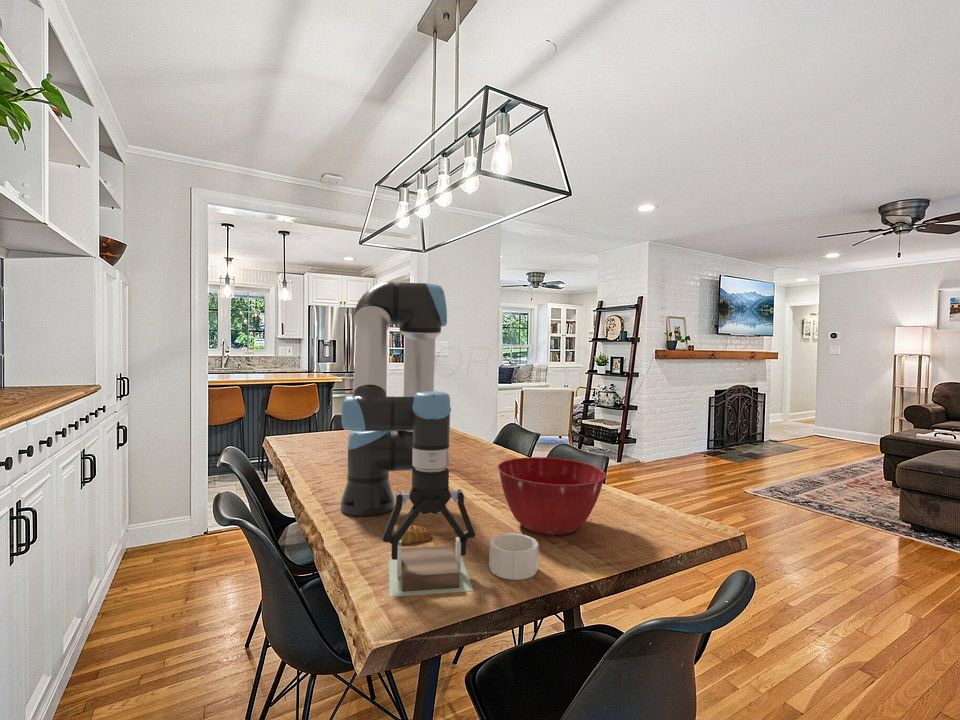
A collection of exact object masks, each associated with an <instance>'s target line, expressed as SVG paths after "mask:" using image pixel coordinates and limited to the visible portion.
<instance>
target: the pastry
mask: <svg viewBox="0 0 960 720" xmlns="http://www.w3.org/2000/svg"><path fill="white" fill-rule="evenodd" d="M399 526H400V524H395V526H394V529H393V531H392V533H393V534H394V533H395V531H396V530H397V529H398V527H399ZM393 534H392V535H393ZM431 539H432V531H431V529H430V528H428V527H425V526H424V527H423V526H420V525H417V524H413V523H412V524H411V525H410V527H409V528H408V529H407V531H406V532H405V534H404V535H403V536H402V538H401V539H400V540H401V545H404V544H406V545H408V544H414V543H415V544H416V543H422V542H427V541H429V540H431Z"/></svg>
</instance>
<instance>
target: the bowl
mask: <svg viewBox="0 0 960 720" xmlns="http://www.w3.org/2000/svg"><path fill="white" fill-rule="evenodd" d="M488 554H489V557H488V559H489V561H488V568H489V570H490V572H491V574H493V575H495V576H497V577H498V578H501V579H504V580H511V581H523V580H526V579H532V578H534V577H535V576H536V574H537V572H538V569H539V543H538V541H537V540H536V538H534V537H532V536H529V535H526V534H520V533H515V532H514V533H512V532H511V533H500V534H498V535H495V536H492V538H491V539H490V540H489V553H488ZM534 575H535V576H534ZM533 576H534V577H533ZM531 577H532V578H531Z"/></svg>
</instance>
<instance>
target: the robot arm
mask: <svg viewBox="0 0 960 720" xmlns="http://www.w3.org/2000/svg"><path fill="white" fill-rule="evenodd" d="M447 311H448V309H447V301H446V295H445V292H444V288H443V287H442V286H441V285H439V284H436V283H427V282H423V283H422V282H399V281H398V282H397V281H383V282H381V283H378V284H376V285H374V286H372V287H370V288H369V289H368V290H367V291H365V292H364V294H363V295H362V296H361V298H359V299H358V301H357V304H356V305H355V308H354V312H353V324H354V326H355V327H356V338H355V340H356V343H355V353H354V354H355V357H354V358H355V359H354V368H353V369H354V371H353V372H354V373H353V385H352V395H350V396H344V397H343V399H342V403H341V404H342V405H341V425H342V428H343V429H344V431H348V432H349V435H348V439H347V440H348V441H347V446H346V449H347V480H346V481H347V482H346V485H345V488H344V491H343V493H342V497H341V500H340V511H341V512H342V513H344V514H346V515H349V516H353V517H354V516H356V517H371V516H372V517H373V516H379V515H384V514H386V513H389V512H391V514H390V517H389V519H388V521H387V524H386V526H385V529H384V531H383V534H382V541H383V542H384V543H389V544H390V545H391V560H397V577H401V548H402V544H401V540H400V539H401V538H402V536H403V535H404V534H405V532H406V531H407V529H408V528H409V527H410V525H411V524H412V525H413V522H414V521H415V520H416V518H418V517H419V515H420V514H422V515H429V514H433V515H435V514H436V515H438V514H439V513H441V514H442V516H443V518H445V519H446V521H447V522H448V524H449V525H450V526H451V528H452V529H453V531H454V532H455V533H456V535H457V536H456V537H455V549H454V551H455V552H454V556H455V559H456V562H457V566H458V569H459V572H460V568H461V556H462V557H465V556H466V555H467V541H468V540H469V539H475V537H476V533H475V530H474V527H473V525H472V522H471V519H470V517H469V516H470V515H469V514H468V511H467V508H466V506H465V494H464V493H463V491H462V489H457V490H456V491H450V489H449V485H450V482H449V481H450V476H449V475H450V470H449V468H448V467H449V466H450V432H451V431H450V429H451V428H450V427H451V423H450V421H451V411H452V407H451V397H450V396H451V395H449V394H448V393H447V392H442V391H434V390H435V389H434V388H435V385H434V384H435V361H436V359H435V357H436V356H435V355H436V338H437V337H438V336H439V335H440V334H441V333H442V327H445V326H447V323H448V312H447ZM391 325H397V326H399V332H400V333H401V334H402V335H403V337H404V354H403V355H404V357H403V358H404V360H403V396H387V393H388V392H387V391H388V390H387V385H388V384H387V380H388V379H387V375H388V374H387V373H388V371H387V370H388V367H387V366H388V363H387V362H388V357H387V356H388V354H387V353H388V344H387V343H388V329H389V328H390V326H391ZM409 471H410V472H411V489H410V492H408V493H407V492H402V491H397V492H396V496H395V497H394V493H393V490H392V487H391V484H390V480H389V479H390V477H389V476H390V475H389V474H390V472H409ZM450 499H452V500H453V503H456V504H457V505H458V506H457V508H458V509H459V512H460V515H461V517H462V520H463V523H464V525H465V528H466V530H463V528H462V527H461V526H460V524H459V522H457V519H456V518H455V517H454V516H453V514H452V513H451V511H450V510H449V508H448V507H447V504H448V502H449V501H450ZM408 500H409V501H410V502H411V503H412V507H410V510H409V512H408V513H407V515H406V516H405V517H404V518H403V520H402V522H401V523H400V524H399V525H400V526H399V527H398V529H397V530H396V531H395V533H394V534H392V533H393V530H394V526H395V525H397V524H396V523H397V521H398V518H399V516H400V513H401V511H402V508H403V505H406V503H407V501H408Z"/></svg>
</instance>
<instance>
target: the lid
mask: <svg viewBox="0 0 960 720" xmlns="http://www.w3.org/2000/svg"><path fill="white" fill-rule="evenodd" d="M452 546H453V545H443V546H441V545H440V546H421V547H420V546H419V547H404V548H403V547H401V575H402V592H406V591H421V590H436V589H450V588H459V583H460V572H459V569H458V566H457V562H456V559H455V552H454V550H453V547H452Z"/></svg>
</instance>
